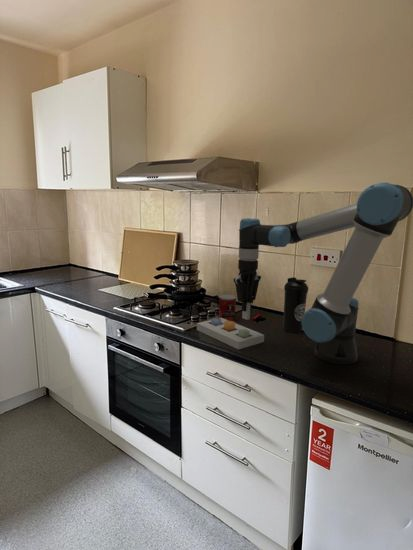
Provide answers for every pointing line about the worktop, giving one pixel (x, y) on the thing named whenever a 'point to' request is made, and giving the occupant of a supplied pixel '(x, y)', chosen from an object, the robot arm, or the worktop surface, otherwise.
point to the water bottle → (294, 304)
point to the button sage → (243, 333)
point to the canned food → (227, 307)
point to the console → (230, 334)
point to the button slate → (216, 321)
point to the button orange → (229, 326)
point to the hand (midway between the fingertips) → (245, 318)
